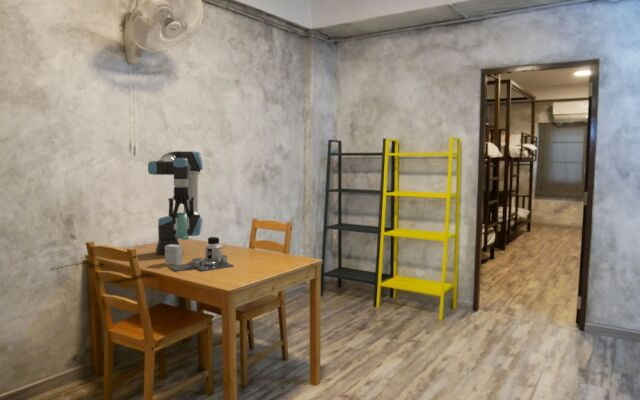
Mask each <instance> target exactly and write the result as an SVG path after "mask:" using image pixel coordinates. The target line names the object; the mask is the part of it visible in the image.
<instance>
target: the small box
mask: <svg viewBox="0 0 640 400" xmlns="http://www.w3.org/2000/svg"><path fill="white" fill-rule="evenodd" d="M164 261H165V262H164V264H165V265H171V266H175V265H182V264H184V261H183V245H182V244H179V245H173V244H170V245H166V246H165V255H164Z"/></svg>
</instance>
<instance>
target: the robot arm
mask: <svg viewBox="0 0 640 400" xmlns="http://www.w3.org/2000/svg"><path fill="white" fill-rule="evenodd" d="M203 167H204V166H203V160H202V155H201V153H200V152H199V151H194V150H193V151H191V150H190V151H186V150H185V151H181V150H180V151H169V152H168V153H164V154H163V155H161V157H160V159H158V160H149V161H148V163H147V171H148V172H147V173H148V174H149V175H154V176H156V175H157V176H158V175H159V176H160V175H161V176H162V175H165V176H168V175H169V176H173V196H172V197H170V198H168V215H167V216H161V217H160V218H159V219H158V225H157V227H158V229H157V230H158V241H157V243H156V244H157V245H156V248H155V254H156V255H162V256H165V246H166V245H170V244H173V245H180V242H179V239H177V238H176V237H175V234H176V230H177V218H176V215H177V213H178V212H179V211H178V210H179V207H180V206H181V204H182V205H183V212H182V213H186V214H187V236H188V237H195V236H196V237H197V236H200V235H201V232H202V229H203V227H202V226H203V218H202V217H201V214H200V213H199V212H198V209H199V204H198V202H199V199H198V198H199V197H198V196H199V190H198V187H199V185H198V184H199V179H198V178H199V174H201V171H202V170H203Z"/></svg>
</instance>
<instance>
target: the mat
mask: <svg viewBox="0 0 640 400" xmlns="http://www.w3.org/2000/svg"><path fill="white" fill-rule="evenodd" d="M167 268H168V269H170V270H172V271H174V272H176V273H177V272H183V271H188V270H189V271H190V270H197V269H196V268H195V267H193V266H191V265H189V264H187V263H181V264H178V265H170V266H169V265H168V267H167Z"/></svg>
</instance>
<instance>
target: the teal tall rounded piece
mask: <svg viewBox="0 0 640 400" xmlns="http://www.w3.org/2000/svg"><path fill="white" fill-rule="evenodd" d="M176 218H177V230H176V234H175V237H176V238H177V239H178V240H184V241H185V240H189V239H190V238H189V237H190V236H187V214H186V213H183V212H177V215H176Z"/></svg>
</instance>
